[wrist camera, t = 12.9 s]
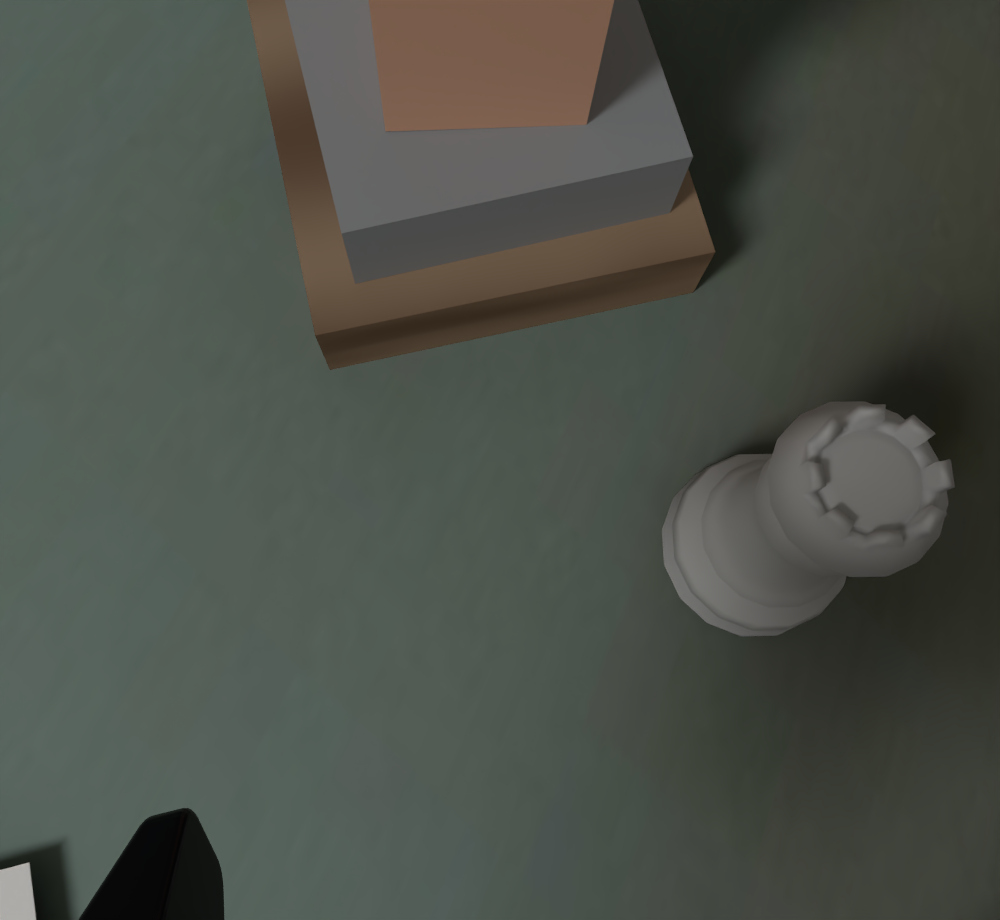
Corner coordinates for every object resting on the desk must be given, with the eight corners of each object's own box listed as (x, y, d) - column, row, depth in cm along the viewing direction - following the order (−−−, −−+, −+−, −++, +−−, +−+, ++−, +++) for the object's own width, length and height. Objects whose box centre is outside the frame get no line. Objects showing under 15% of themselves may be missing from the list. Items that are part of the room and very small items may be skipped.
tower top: (669, 213, 23) (693, 156, 21) (355, 284, 22) (341, 233, 20) (581, -47, 25) (593, -127, 22) (288, 10, 24) (268, -66, 22)
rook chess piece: (758, 431, 24) (892, 304, 16) (868, 571, 23) (1066, 507, 16) (621, 527, 23) (696, 441, 16) (731, 675, 23) (867, 662, 15)
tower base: (688, 302, 26) (715, 251, 23) (333, 377, 25) (315, 335, 22) (595, 5, 28) (609, -75, 25) (269, 65, 27) (244, -11, 24)
